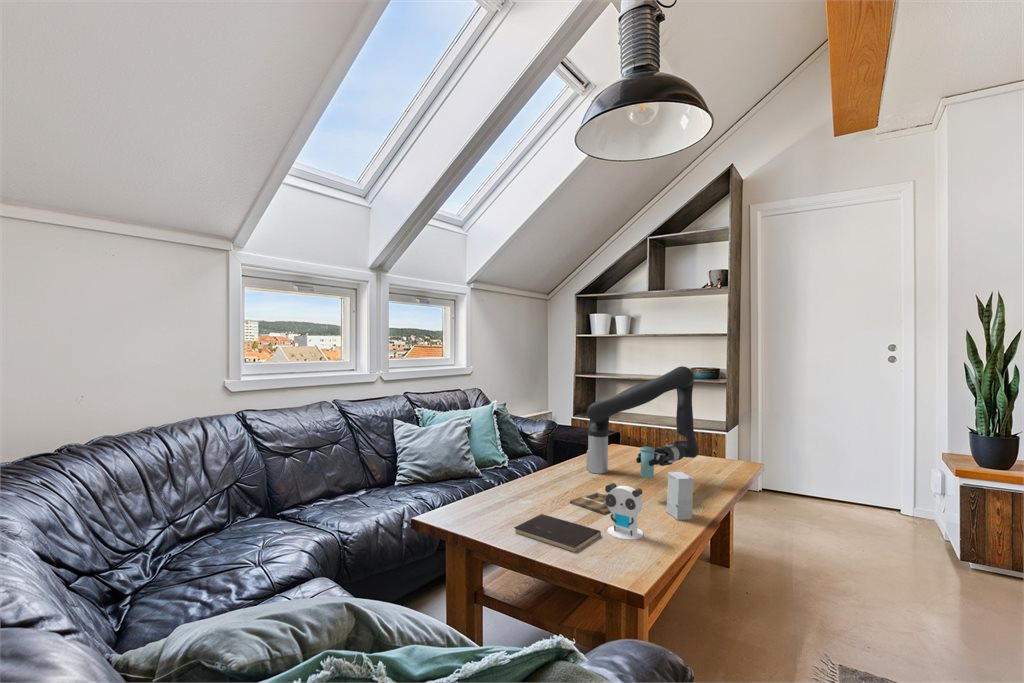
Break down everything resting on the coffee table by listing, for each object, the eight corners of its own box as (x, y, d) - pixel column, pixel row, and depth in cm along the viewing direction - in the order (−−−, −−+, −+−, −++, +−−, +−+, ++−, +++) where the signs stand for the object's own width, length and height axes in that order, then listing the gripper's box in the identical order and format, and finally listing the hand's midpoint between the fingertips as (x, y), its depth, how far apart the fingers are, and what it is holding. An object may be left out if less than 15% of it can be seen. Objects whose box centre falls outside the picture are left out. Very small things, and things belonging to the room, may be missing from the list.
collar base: (569, 503, 183) (569, 497, 183) (595, 494, 193) (595, 488, 193) (603, 514, 171) (603, 507, 171) (629, 504, 182) (629, 497, 182)
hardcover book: (574, 554, 140) (574, 546, 140) (513, 534, 155) (513, 527, 155) (600, 537, 153) (600, 529, 153) (542, 519, 167) (542, 513, 167)
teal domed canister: (637, 475, 187) (637, 447, 187) (644, 473, 191) (645, 445, 191) (649, 478, 183) (650, 450, 183) (656, 476, 187) (657, 448, 187)
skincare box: (666, 512, 173) (666, 471, 173) (681, 511, 174) (681, 470, 174) (677, 520, 165) (678, 478, 165) (693, 519, 166) (694, 477, 166)
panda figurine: (599, 532, 155) (599, 486, 155) (616, 522, 163) (616, 479, 163) (632, 543, 147) (633, 494, 147) (649, 532, 155) (649, 486, 155)
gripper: (651, 442, 202) (628, 448, 190) (682, 449, 191) (660, 455, 180) (650, 460, 202) (627, 467, 190) (682, 467, 191) (660, 475, 180)
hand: (643, 461), depth 185 cm, fingers closed on teal domed canister, 5 cm apart
